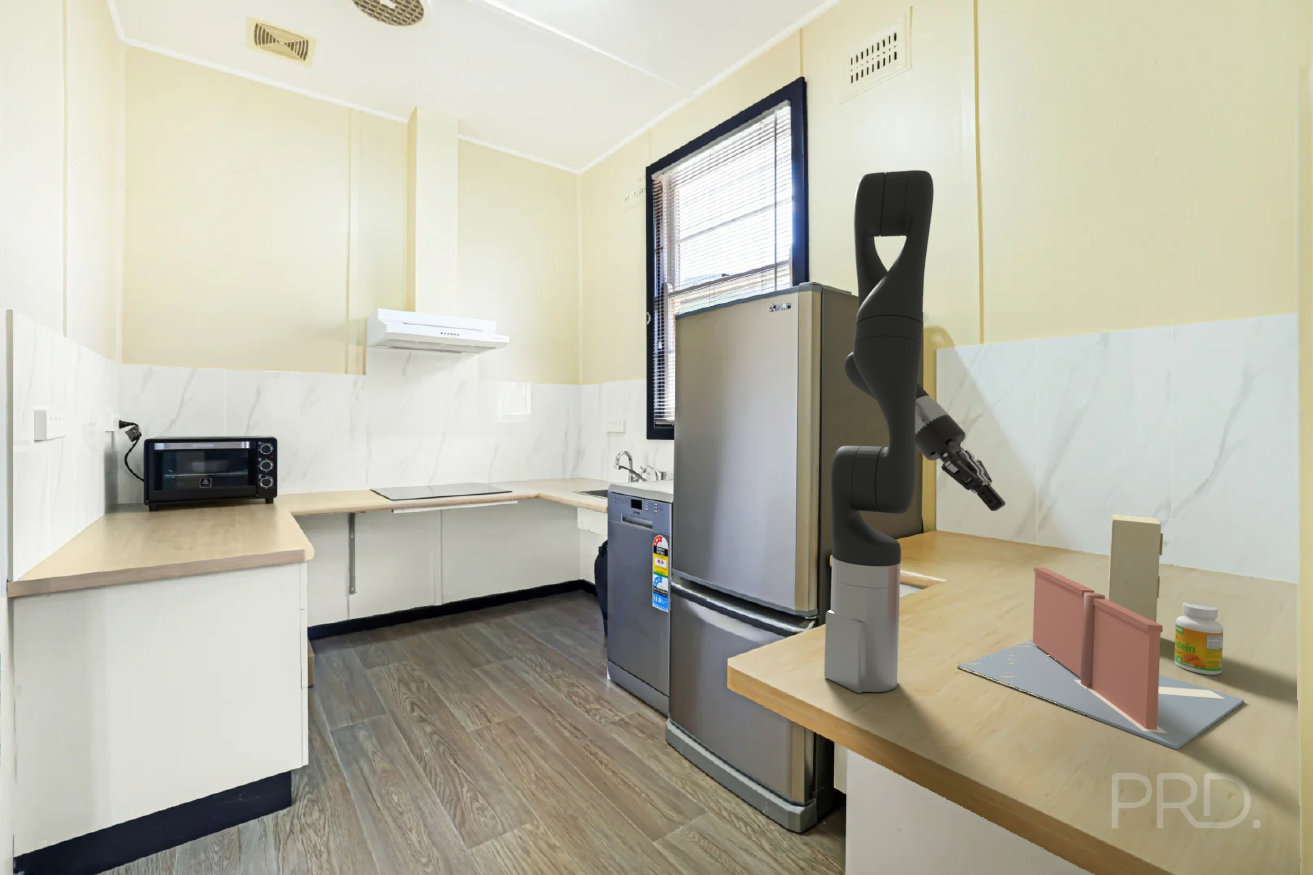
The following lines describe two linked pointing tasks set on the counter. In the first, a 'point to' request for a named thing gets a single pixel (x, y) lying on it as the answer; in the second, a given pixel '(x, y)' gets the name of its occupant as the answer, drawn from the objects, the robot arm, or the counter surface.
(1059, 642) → the panel
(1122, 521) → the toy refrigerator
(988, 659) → the card
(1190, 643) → the supplement bottle
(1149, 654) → the bar
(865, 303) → the robot arm
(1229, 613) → the counter surface
